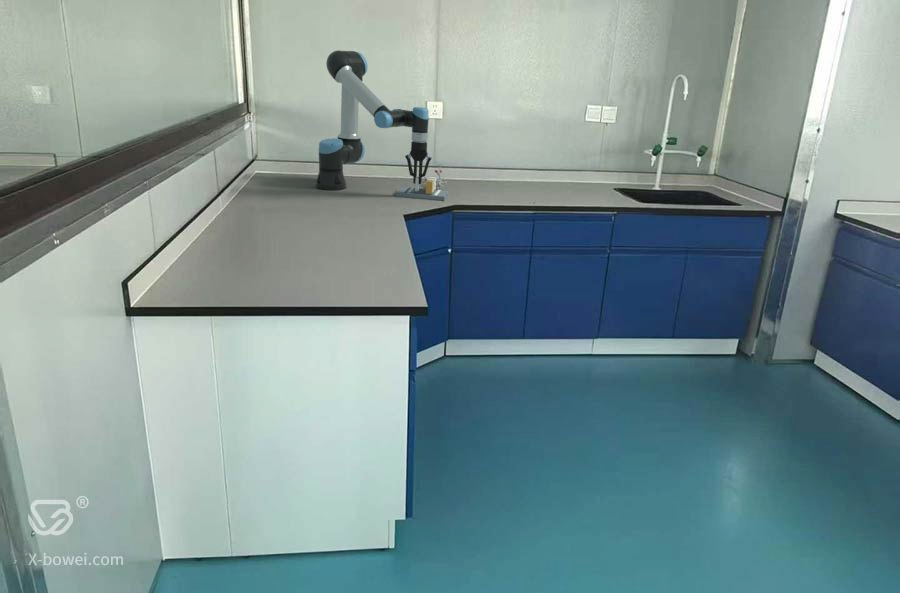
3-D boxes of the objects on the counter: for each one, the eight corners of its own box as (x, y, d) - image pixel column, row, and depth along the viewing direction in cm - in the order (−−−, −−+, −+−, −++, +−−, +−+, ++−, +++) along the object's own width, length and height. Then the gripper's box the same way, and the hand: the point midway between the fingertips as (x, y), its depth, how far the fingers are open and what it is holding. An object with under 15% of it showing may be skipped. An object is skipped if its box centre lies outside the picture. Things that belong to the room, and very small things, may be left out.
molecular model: (436, 194, 320) (436, 174, 316) (419, 192, 324) (418, 173, 320) (453, 186, 336) (453, 168, 332) (436, 185, 340) (436, 166, 336)
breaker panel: (395, 196, 307) (396, 179, 304) (401, 190, 320) (402, 174, 317) (444, 200, 305) (445, 183, 302) (448, 194, 318) (449, 178, 315)
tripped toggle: (425, 193, 306) (426, 181, 304) (426, 192, 309) (427, 180, 307) (431, 194, 306) (432, 181, 304) (432, 192, 309) (433, 180, 307)
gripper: (404, 141, 297) (402, 190, 305) (431, 143, 295) (428, 193, 304) (407, 139, 304) (405, 187, 312) (434, 141, 302) (431, 190, 311)
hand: (416, 190), depth 308 cm, fingers closed
